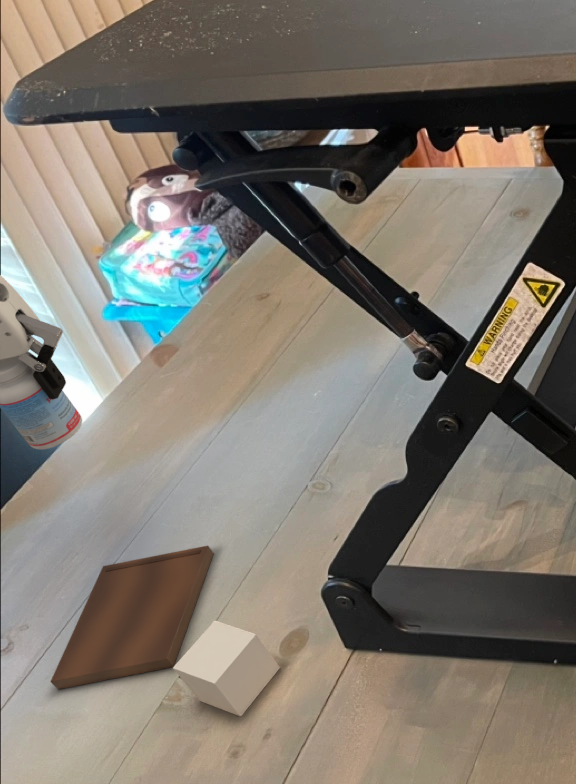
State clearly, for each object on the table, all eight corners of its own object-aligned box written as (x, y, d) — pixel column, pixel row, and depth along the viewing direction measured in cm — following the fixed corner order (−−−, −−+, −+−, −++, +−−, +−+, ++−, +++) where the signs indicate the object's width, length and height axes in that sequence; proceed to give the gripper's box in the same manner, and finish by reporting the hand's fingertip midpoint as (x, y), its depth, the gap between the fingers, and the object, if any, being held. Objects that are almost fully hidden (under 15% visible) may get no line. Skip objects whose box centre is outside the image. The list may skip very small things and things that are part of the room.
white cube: (239, 653, 115) (214, 619, 112) (280, 667, 113) (256, 633, 109) (199, 701, 111) (172, 667, 108) (240, 717, 109) (214, 683, 105)
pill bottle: (88, 432, 125) (35, 361, 118) (34, 459, 123) (-23, 387, 116) (80, 408, 129) (29, 337, 123) (27, 433, 127) (-28, 362, 120)
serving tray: (57, 689, 116) (49, 681, 115) (109, 573, 128) (102, 565, 127) (173, 667, 115) (166, 658, 114) (213, 553, 128) (208, 544, 127)
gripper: (29, 236, 115) (114, 361, 126) (-127, 269, 115) (-29, 392, 126) (0, 275, 109) (92, 403, 120) (-165, 310, 109) (-58, 435, 120)
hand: (29, 396), depth 123 cm, fingers closed on pill bottle, 6 cm apart
